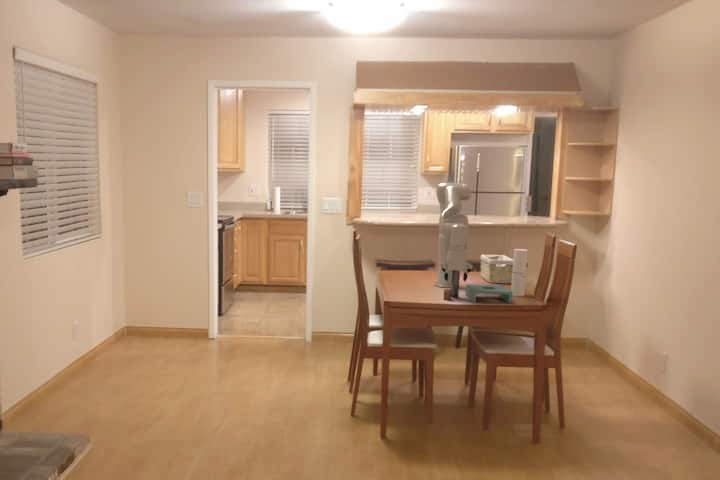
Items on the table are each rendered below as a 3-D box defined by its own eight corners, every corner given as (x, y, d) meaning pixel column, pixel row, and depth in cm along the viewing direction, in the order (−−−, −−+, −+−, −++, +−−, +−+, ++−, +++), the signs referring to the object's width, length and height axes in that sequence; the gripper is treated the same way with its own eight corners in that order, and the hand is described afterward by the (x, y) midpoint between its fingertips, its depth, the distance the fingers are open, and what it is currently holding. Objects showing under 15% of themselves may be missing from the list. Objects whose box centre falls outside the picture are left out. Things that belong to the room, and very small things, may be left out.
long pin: (450, 296, 298) (451, 270, 296) (457, 296, 298) (459, 270, 296) (451, 297, 294) (453, 271, 292) (459, 298, 294) (460, 271, 292)
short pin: (442, 298, 292) (443, 289, 291) (450, 298, 292) (450, 289, 291) (444, 300, 288) (444, 290, 287) (452, 300, 288) (452, 291, 287)
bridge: (465, 295, 301) (466, 284, 300) (502, 296, 302) (503, 285, 301) (472, 302, 285) (473, 290, 284) (511, 303, 286) (512, 291, 285)
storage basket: (478, 276, 360) (479, 253, 359) (503, 277, 361) (504, 254, 359) (487, 283, 337) (489, 259, 335) (514, 284, 337) (516, 260, 335)
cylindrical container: (509, 293, 311) (512, 248, 308) (521, 293, 311) (524, 248, 308) (513, 296, 304) (516, 250, 301) (526, 296, 304) (529, 250, 301)
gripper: (472, 248, 297) (470, 279, 299) (439, 247, 296) (437, 278, 298) (475, 249, 289) (473, 282, 291) (442, 248, 289) (440, 281, 291)
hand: (455, 280), depth 295 cm, fingers open, 9 cm apart
